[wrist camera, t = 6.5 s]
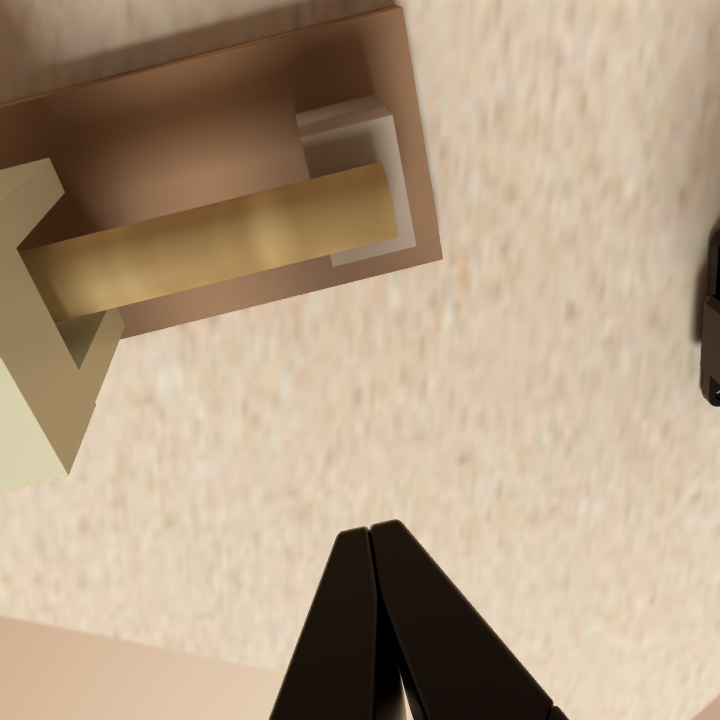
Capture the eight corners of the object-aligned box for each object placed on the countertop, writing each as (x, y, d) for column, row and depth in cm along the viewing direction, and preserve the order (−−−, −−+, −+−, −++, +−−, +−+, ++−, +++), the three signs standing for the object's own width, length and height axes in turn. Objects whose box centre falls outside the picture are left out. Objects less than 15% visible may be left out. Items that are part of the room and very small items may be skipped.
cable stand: (395, 5, 17) (456, 24, 11) (435, 246, 20) (497, 349, 15) (-279, 173, 17) (-534, 272, 11) (-129, 386, 20) (-271, 540, 15)
